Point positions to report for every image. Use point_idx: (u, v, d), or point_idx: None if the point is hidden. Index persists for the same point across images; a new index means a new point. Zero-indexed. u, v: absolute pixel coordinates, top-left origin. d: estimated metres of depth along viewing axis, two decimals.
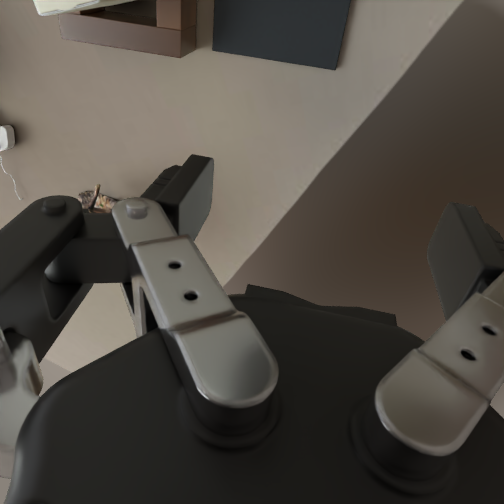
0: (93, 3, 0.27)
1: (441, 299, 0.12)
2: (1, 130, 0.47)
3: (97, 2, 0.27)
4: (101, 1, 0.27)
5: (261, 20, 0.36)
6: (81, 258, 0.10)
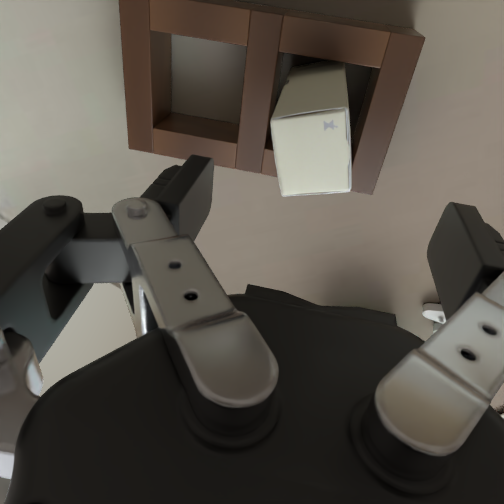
0: (348, 116, 0.21)
1: (441, 299, 0.12)
2: None
3: (347, 110, 0.21)
4: (347, 106, 0.21)
5: None
6: (81, 258, 0.10)
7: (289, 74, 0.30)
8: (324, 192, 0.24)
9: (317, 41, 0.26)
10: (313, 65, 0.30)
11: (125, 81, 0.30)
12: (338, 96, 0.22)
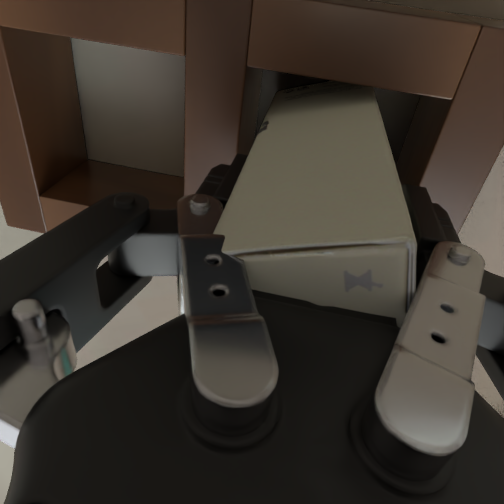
0: (413, 262, 0.07)
1: None
2: None
3: (414, 248, 0.07)
4: (411, 233, 0.07)
5: None
6: (140, 254, 0.10)
7: (271, 106, 0.16)
8: None
9: (324, 46, 0.13)
10: (315, 89, 0.17)
11: None
12: (378, 187, 0.09)
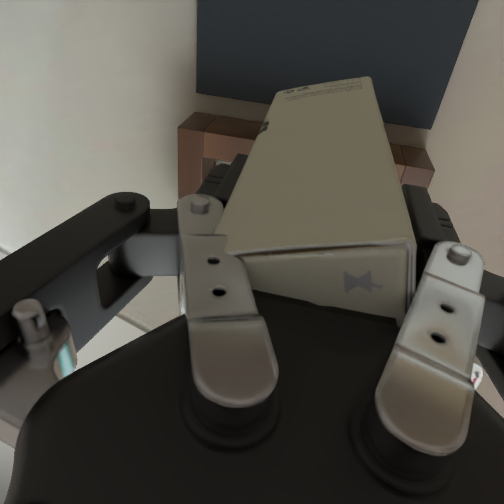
0: (413, 263, 0.07)
1: None
2: None
3: (414, 249, 0.07)
4: (411, 234, 0.07)
5: (410, 65, 0.30)
6: (140, 254, 0.10)
7: (271, 107, 0.16)
8: None
9: None
10: (315, 89, 0.17)
11: (179, 192, 0.36)
12: (378, 188, 0.09)
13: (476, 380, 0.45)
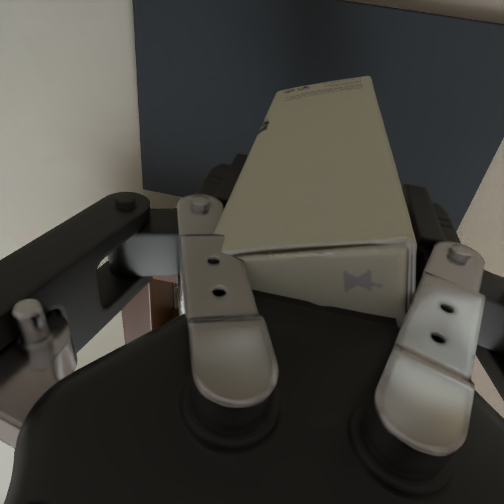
0: (413, 262, 0.07)
1: None
2: None
3: (414, 249, 0.07)
4: (411, 233, 0.07)
5: (423, 174, 0.22)
6: (140, 254, 0.10)
7: (271, 106, 0.16)
8: None
9: None
10: (316, 89, 0.17)
11: (123, 312, 0.28)
12: (378, 187, 0.09)
13: None
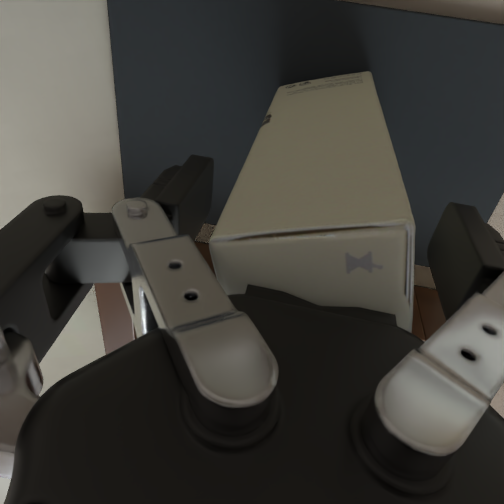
0: (412, 244, 0.08)
1: (441, 299, 0.12)
2: None
3: (412, 230, 0.08)
4: (410, 216, 0.08)
5: (433, 194, 0.20)
6: (81, 258, 0.10)
7: (273, 101, 0.16)
8: None
9: None
10: (317, 84, 0.17)
11: (104, 341, 0.26)
12: (379, 174, 0.09)
13: None
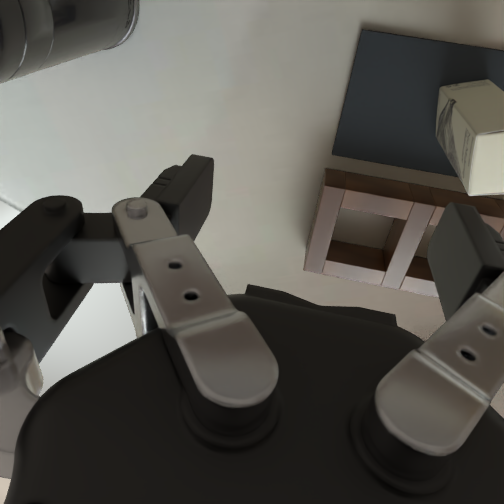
0: None
1: (441, 299, 0.12)
2: None
3: None
4: None
5: None
6: (81, 258, 0.10)
7: (446, 93, 0.35)
8: None
9: None
10: (464, 85, 0.36)
11: (313, 233, 0.44)
12: None
13: None
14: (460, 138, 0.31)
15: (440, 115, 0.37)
